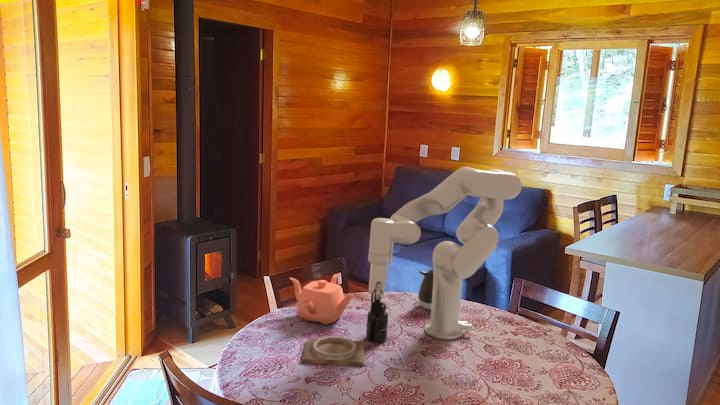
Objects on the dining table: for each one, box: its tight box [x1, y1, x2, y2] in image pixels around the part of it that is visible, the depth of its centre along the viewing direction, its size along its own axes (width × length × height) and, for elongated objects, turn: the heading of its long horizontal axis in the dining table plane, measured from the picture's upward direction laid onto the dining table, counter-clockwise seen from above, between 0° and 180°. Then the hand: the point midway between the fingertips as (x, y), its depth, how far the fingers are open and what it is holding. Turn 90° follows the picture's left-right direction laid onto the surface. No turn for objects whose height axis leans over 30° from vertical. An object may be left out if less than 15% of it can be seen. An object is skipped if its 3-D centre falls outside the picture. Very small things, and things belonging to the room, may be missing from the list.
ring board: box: [301, 335, 365, 367], centre depth 163 cm, size 18×14×3 cm
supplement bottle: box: [365, 302, 389, 344], centre depth 174 cm, size 7×7×12 cm
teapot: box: [289, 273, 354, 326], centre depth 189 cm, size 18×18×14 cm
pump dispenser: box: [417, 268, 434, 311], centre depth 203 cm, size 10×10×15 cm
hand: (375, 308), depth 173 cm, fingers open, 9 cm apart
